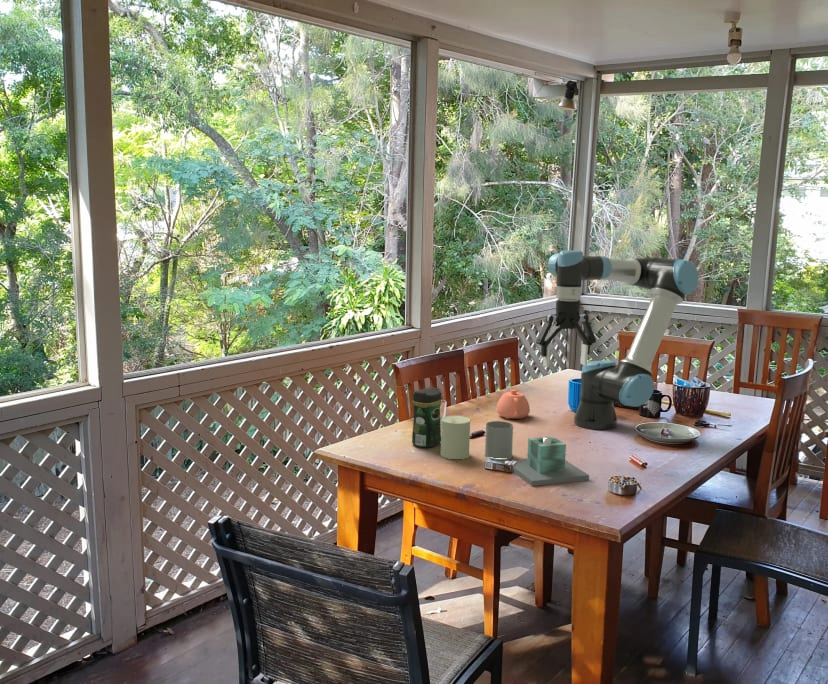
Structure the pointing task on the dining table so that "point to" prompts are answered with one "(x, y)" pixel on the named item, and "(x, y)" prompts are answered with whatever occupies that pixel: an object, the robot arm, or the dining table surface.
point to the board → (548, 474)
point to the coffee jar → (426, 417)
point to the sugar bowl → (513, 405)
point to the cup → (499, 439)
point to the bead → (546, 455)
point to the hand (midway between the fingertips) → (564, 365)
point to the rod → (547, 440)
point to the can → (455, 437)
